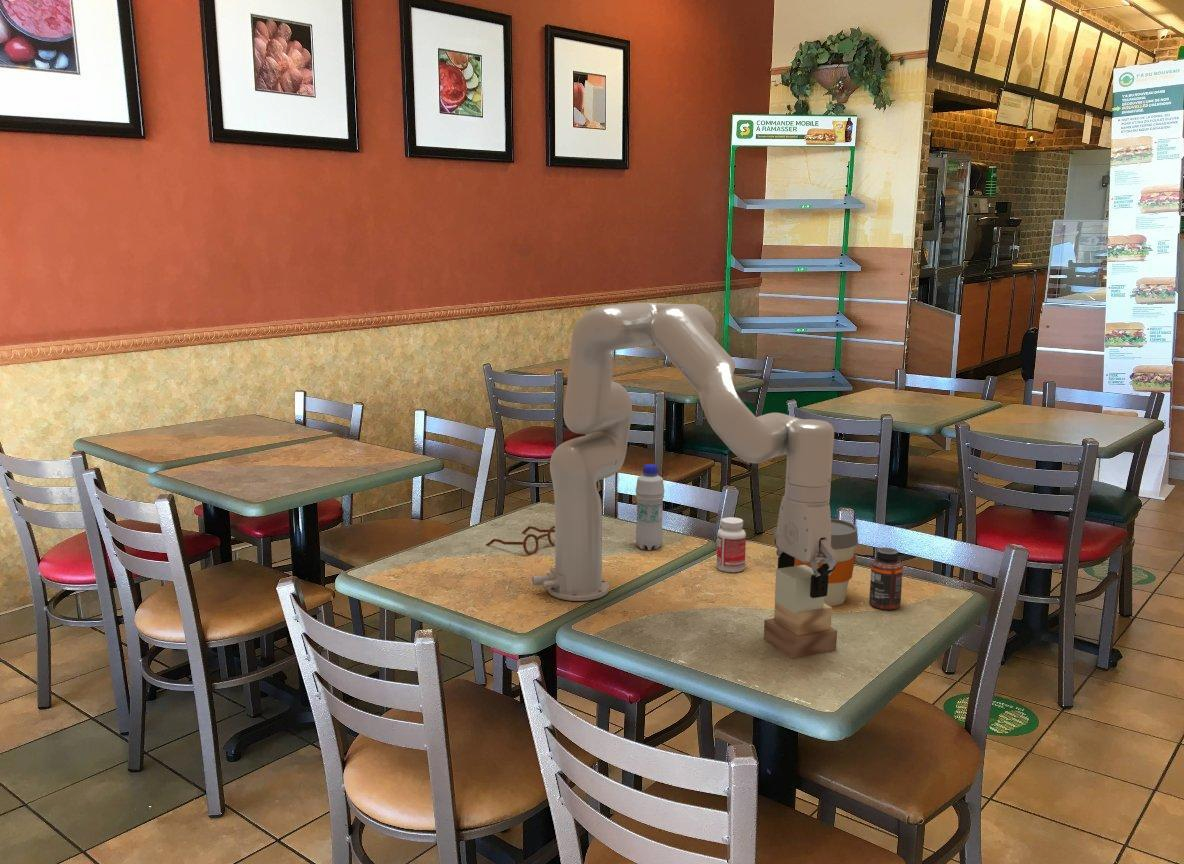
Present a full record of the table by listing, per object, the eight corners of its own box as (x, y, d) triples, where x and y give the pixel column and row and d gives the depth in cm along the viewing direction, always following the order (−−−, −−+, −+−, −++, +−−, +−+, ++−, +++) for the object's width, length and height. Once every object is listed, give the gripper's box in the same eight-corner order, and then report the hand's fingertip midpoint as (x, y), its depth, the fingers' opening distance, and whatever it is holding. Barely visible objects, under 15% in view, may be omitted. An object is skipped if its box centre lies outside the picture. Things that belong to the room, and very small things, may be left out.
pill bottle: (750, 568, 206) (752, 520, 204) (733, 575, 202) (734, 525, 200) (727, 561, 210) (729, 514, 208) (710, 568, 206) (712, 519, 204)
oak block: (797, 635, 162) (799, 613, 161) (774, 620, 168) (775, 599, 167) (830, 629, 165) (832, 607, 164) (806, 614, 171) (807, 594, 170)
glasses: (526, 558, 213) (526, 537, 212) (484, 547, 221) (484, 526, 220) (563, 544, 223) (563, 524, 222) (522, 534, 231) (522, 514, 230)
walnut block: (793, 660, 161) (794, 638, 160) (763, 640, 169) (764, 619, 168) (835, 651, 165) (837, 630, 164) (804, 632, 173) (805, 612, 172)
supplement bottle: (900, 601, 187) (904, 547, 185) (900, 612, 182) (904, 556, 179) (869, 598, 189) (873, 544, 187) (867, 608, 184) (871, 553, 181)
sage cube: (794, 613, 161) (796, 579, 160) (774, 601, 167) (776, 568, 165) (823, 608, 163) (825, 575, 162) (803, 596, 169) (804, 564, 168)
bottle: (664, 551, 217) (666, 467, 213) (635, 551, 217) (636, 467, 213) (662, 542, 223) (664, 460, 220) (634, 542, 223) (635, 460, 220)
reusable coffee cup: (815, 613, 181) (819, 538, 178) (777, 591, 192) (781, 521, 189) (867, 603, 186) (872, 531, 183) (828, 583, 197) (831, 514, 194)
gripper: (760, 481, 167) (755, 573, 170) (820, 507, 151) (813, 607, 155) (796, 478, 170) (790, 568, 173) (857, 503, 154) (850, 601, 158)
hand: (801, 586), depth 164 cm, fingers open, 9 cm apart
